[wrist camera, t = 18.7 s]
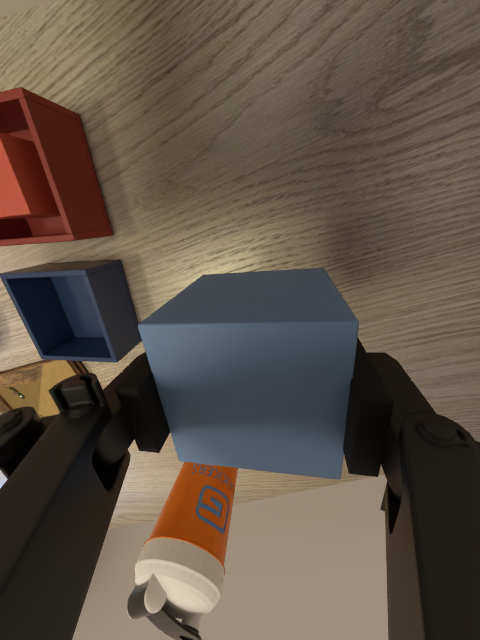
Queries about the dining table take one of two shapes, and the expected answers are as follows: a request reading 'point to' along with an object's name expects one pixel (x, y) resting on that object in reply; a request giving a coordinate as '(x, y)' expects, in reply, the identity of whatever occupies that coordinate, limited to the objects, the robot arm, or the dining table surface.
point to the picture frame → (35, 385)
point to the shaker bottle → (186, 552)
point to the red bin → (54, 171)
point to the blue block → (256, 370)
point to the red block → (23, 181)
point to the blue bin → (76, 309)
